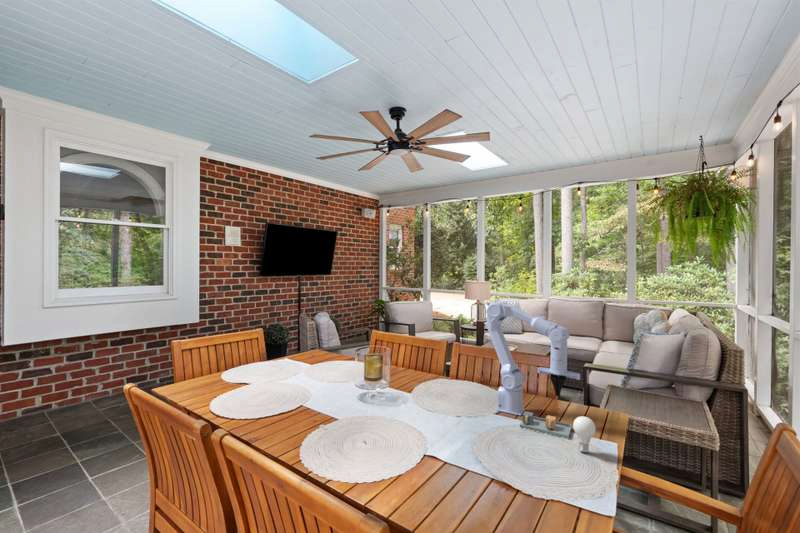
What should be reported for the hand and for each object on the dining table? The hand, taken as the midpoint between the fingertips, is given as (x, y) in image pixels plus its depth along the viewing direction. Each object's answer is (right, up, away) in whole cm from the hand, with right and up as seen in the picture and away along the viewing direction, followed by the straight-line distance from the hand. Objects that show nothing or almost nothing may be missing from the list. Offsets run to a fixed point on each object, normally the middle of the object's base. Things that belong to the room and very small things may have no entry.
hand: (557, 395), depth 136 cm
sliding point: (-6, -9, -7) cm, 12 cm away
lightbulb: (-1, -10, -22) cm, 24 cm away
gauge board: (-6, -10, -5) cm, 13 cm away
